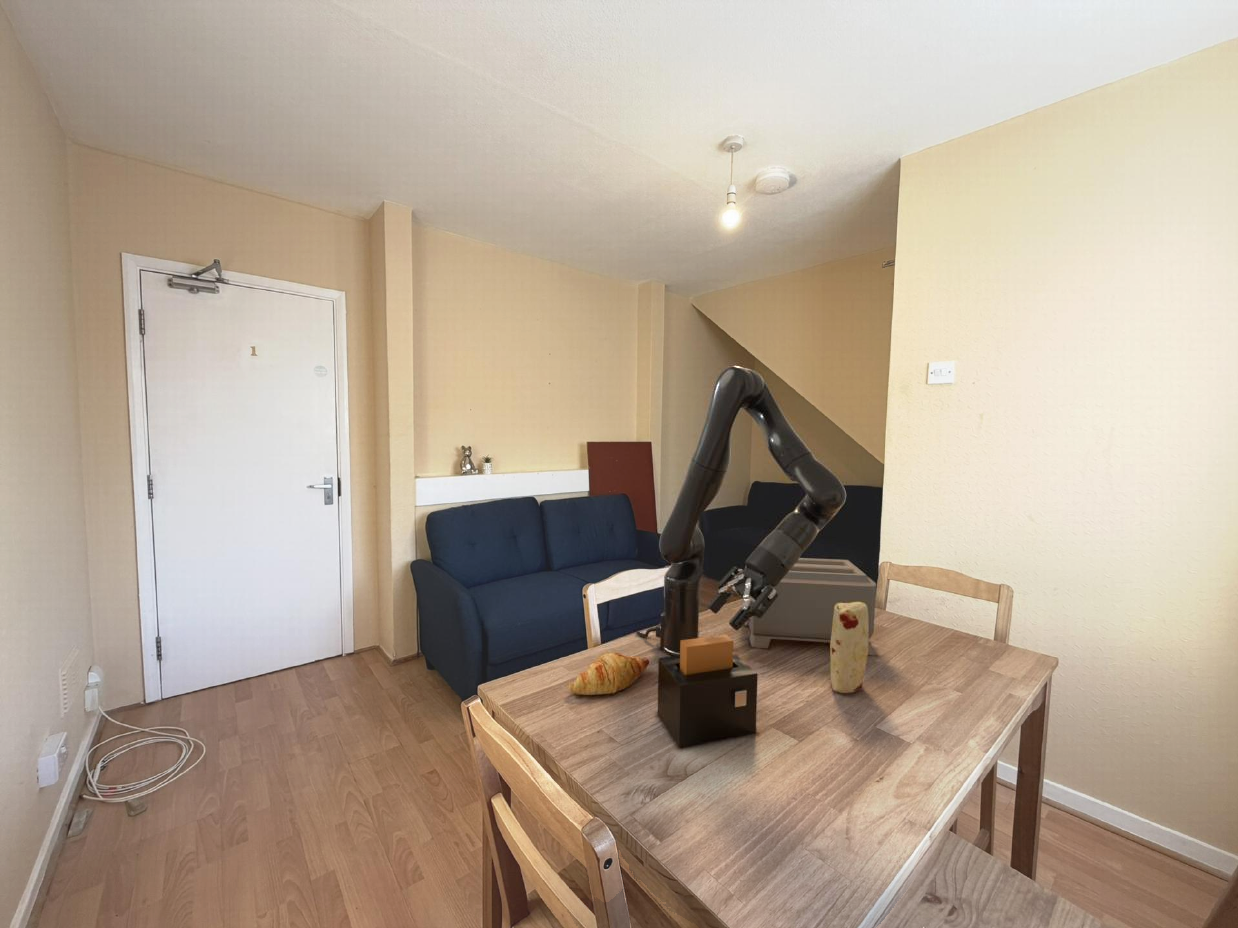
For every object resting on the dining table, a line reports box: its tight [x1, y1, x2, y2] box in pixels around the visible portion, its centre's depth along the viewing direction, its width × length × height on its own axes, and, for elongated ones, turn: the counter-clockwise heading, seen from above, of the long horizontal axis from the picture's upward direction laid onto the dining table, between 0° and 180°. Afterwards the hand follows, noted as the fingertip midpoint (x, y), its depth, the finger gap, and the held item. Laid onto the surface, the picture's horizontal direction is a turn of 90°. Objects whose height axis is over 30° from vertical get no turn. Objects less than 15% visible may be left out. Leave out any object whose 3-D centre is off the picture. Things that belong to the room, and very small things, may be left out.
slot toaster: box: [657, 651, 759, 749], centre depth 95 cm, size 12×16×12 cm
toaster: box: [738, 557, 877, 656], centre depth 137 cm, size 19×35×20 cm, turn 82°
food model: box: [829, 602, 869, 694], centre depth 109 cm, size 10×7×20 cm
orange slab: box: [680, 634, 734, 675], centre depth 95 cm, size 3×10×10 cm, turn 106°
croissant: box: [568, 652, 650, 696], centre depth 111 cm, size 21×10×8 cm, turn 125°
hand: (721, 618), depth 96 cm, fingers open, 8 cm apart
